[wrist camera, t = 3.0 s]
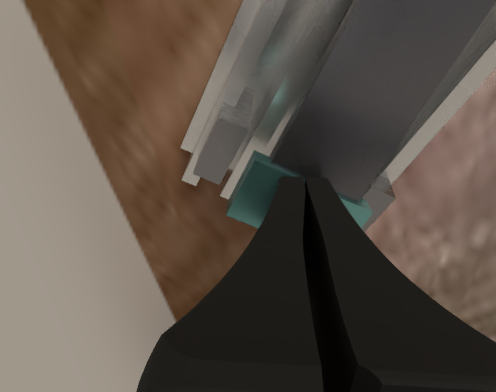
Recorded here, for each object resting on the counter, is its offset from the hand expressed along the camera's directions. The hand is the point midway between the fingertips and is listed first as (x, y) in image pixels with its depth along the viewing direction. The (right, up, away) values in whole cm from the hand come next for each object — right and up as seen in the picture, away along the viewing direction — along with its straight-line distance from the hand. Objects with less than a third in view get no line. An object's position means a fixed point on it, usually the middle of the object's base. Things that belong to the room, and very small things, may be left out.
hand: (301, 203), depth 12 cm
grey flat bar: (+2, +4, -1) cm, 4 cm away
